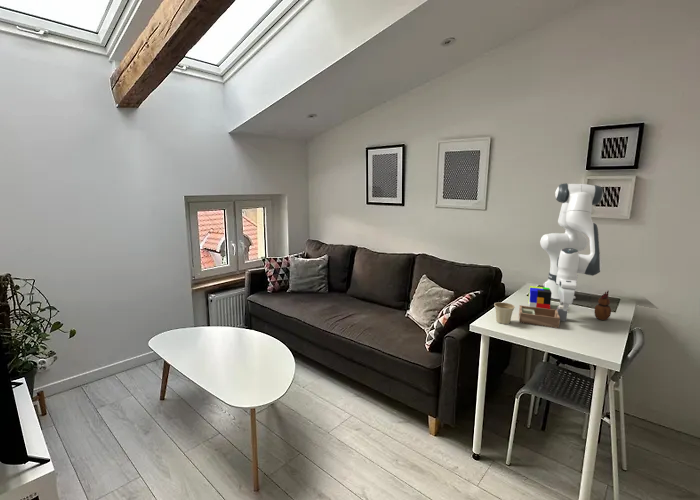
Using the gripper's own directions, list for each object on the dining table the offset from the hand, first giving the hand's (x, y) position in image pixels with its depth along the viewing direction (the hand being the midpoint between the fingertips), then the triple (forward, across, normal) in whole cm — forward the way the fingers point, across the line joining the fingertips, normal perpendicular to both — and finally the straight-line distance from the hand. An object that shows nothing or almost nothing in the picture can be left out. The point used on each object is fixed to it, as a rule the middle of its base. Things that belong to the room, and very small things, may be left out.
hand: (563, 307), depth 181 cm
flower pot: (+7, +15, -28) cm, 32 cm away
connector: (+6, -1, 0) cm, 6 cm away
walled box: (+6, +7, -12) cm, 15 cm away
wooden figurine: (+6, -9, +19) cm, 22 cm away
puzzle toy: (+6, -19, -9) cm, 22 cm away
